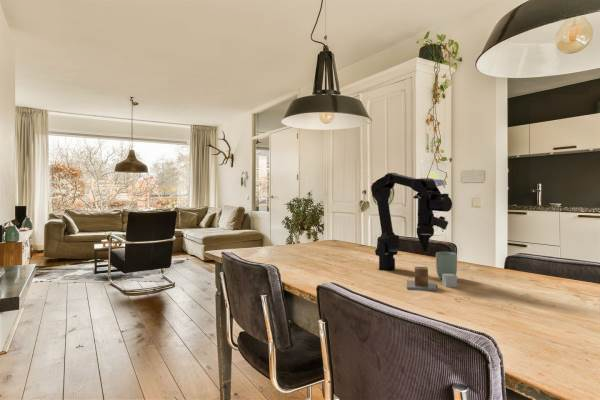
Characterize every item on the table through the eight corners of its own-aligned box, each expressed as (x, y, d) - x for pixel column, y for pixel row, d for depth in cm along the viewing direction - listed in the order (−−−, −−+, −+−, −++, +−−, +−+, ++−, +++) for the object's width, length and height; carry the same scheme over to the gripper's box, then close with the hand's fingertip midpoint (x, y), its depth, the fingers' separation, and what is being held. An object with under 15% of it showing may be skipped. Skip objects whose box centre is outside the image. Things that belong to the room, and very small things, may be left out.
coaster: (406, 289, 129) (406, 287, 129) (407, 282, 139) (407, 280, 139) (436, 291, 126) (436, 288, 126) (434, 283, 136) (434, 281, 136)
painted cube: (446, 287, 132) (445, 276, 132) (442, 284, 136) (442, 273, 136) (457, 287, 131) (457, 276, 131) (452, 284, 135) (452, 273, 135)
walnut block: (414, 285, 131) (414, 269, 131) (414, 282, 135) (414, 266, 135) (428, 286, 130) (428, 269, 130) (427, 283, 134) (427, 267, 134)
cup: (460, 280, 140) (460, 254, 140) (440, 280, 140) (440, 255, 140) (452, 276, 148) (452, 251, 148) (433, 276, 148) (433, 251, 148)
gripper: (448, 212, 133) (448, 254, 133) (445, 209, 150) (445, 246, 151) (416, 211, 136) (416, 253, 137) (417, 208, 154) (417, 245, 155)
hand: (424, 249), depth 145 cm, fingers open, 9 cm apart
